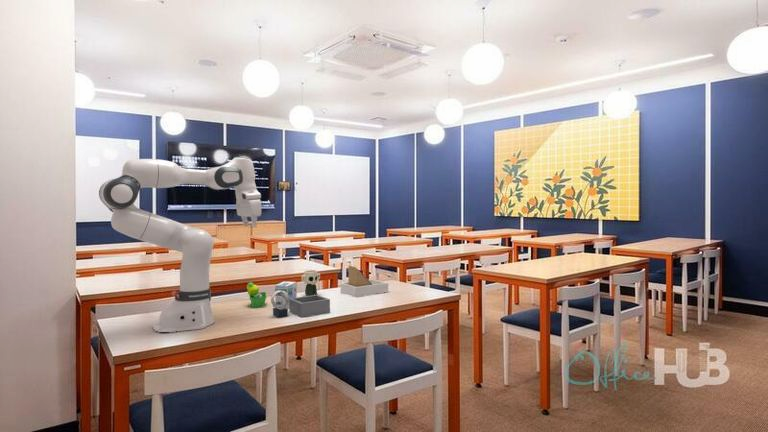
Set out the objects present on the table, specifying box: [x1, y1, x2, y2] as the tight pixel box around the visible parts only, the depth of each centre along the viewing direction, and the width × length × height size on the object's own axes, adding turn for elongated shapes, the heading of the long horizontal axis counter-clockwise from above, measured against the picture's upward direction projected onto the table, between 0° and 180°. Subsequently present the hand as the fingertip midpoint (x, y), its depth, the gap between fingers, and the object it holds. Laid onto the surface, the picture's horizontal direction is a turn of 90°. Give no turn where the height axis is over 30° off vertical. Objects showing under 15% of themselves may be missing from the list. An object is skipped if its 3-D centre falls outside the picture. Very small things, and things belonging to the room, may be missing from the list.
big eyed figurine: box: [301, 269, 321, 296], centre depth 241 cm, size 11×7×13 cm, turn 129°
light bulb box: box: [274, 280, 298, 309], centre depth 218 cm, size 11×7×11 cm, turn 168°
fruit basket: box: [246, 282, 267, 309], centre depth 219 cm, size 11×9×11 cm
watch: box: [270, 290, 290, 319], centre depth 200 cm, size 6×8×11 cm
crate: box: [288, 294, 331, 319], centre depth 206 cm, size 14×12×6 cm
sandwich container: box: [347, 265, 372, 287], centre depth 249 cm, size 9×15×15 cm, turn 121°
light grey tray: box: [340, 278, 389, 298], centre depth 249 cm, size 21×15×5 cm
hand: (250, 226), depth 200 cm, fingers open, 8 cm apart
